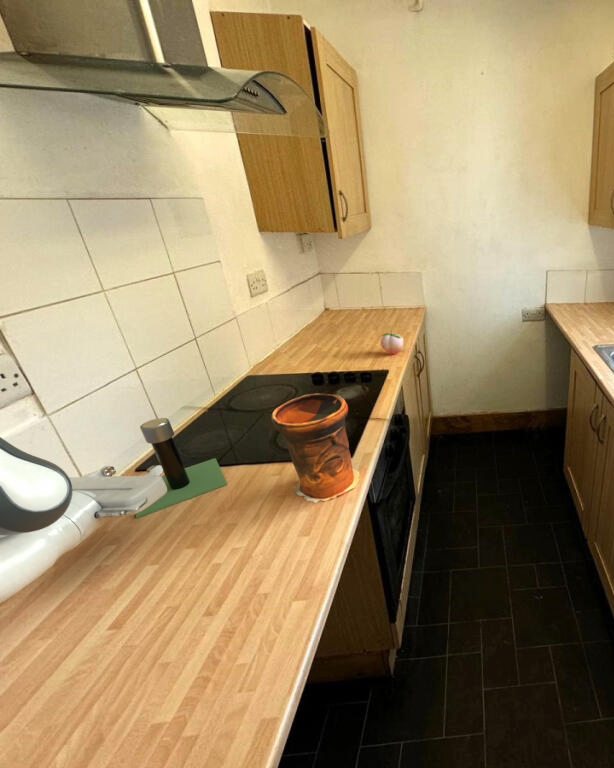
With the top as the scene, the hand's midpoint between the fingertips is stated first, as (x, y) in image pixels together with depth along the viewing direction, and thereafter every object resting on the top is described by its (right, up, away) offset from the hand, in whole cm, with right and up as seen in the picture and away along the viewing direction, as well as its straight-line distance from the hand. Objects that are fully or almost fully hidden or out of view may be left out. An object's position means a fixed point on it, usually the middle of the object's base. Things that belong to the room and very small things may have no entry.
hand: (135, 468), depth 83 cm
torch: (0, -6, +11) cm, 13 cm away
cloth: (0, -6, +11) cm, 13 cm away
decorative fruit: (+27, +29, +89) cm, 98 cm away
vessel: (+34, -6, +11) cm, 36 cm away
